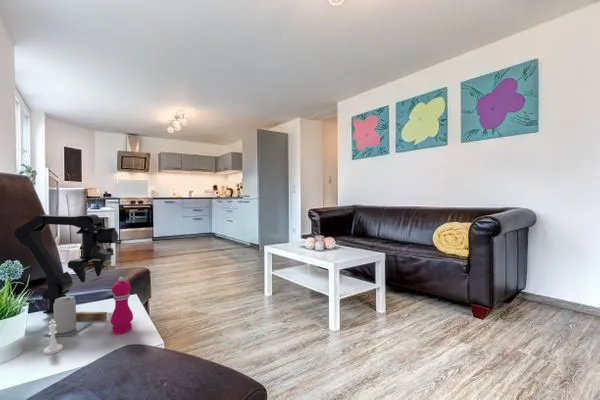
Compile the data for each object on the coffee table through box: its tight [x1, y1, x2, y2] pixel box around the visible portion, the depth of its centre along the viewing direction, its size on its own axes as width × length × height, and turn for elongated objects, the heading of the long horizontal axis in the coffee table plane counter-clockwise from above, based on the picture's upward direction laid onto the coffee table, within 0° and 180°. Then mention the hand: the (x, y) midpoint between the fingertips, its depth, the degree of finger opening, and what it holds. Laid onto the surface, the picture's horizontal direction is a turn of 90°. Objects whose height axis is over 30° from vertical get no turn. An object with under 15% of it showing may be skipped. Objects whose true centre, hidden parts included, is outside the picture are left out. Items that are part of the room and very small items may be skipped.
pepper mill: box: [110, 276, 134, 335], centre depth 111 cm, size 7×7×20 cm
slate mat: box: [43, 322, 93, 338], centre depth 112 cm, size 10×10×1 cm
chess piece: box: [42, 318, 64, 355], centre depth 98 cm, size 5×5×10 cm
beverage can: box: [53, 295, 77, 334], centre depth 110 cm, size 6×6×12 cm
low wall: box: [76, 311, 108, 322], centre depth 120 cm, size 20×2×3 cm, turn 89°
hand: (91, 279), depth 132 cm, fingers open, 9 cm apart
